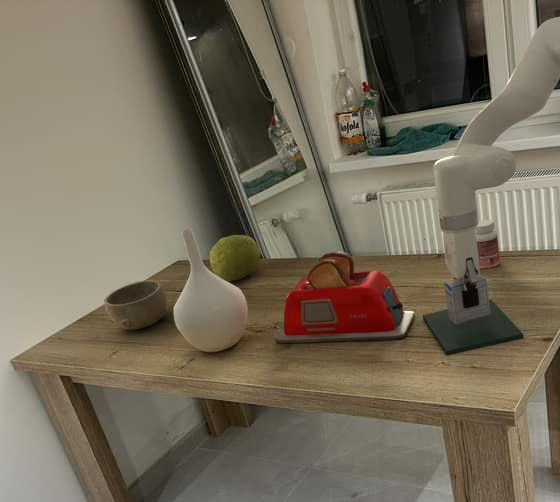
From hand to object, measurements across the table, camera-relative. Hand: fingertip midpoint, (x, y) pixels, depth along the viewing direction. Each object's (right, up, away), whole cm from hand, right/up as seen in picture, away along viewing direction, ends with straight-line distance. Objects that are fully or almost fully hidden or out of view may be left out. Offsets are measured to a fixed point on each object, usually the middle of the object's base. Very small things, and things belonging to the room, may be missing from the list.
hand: (467, 301), depth 146 cm
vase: (-55, -8, +27) cm, 62 cm away
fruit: (-53, +15, +70) cm, 89 cm away
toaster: (-25, -5, +17) cm, 30 cm away
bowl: (-80, -1, +53) cm, 96 cm away
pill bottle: (+14, +13, +32) cm, 38 cm away
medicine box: (+1, -3, +2) cm, 4 cm away
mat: (+1, -6, +3) cm, 6 cm away
